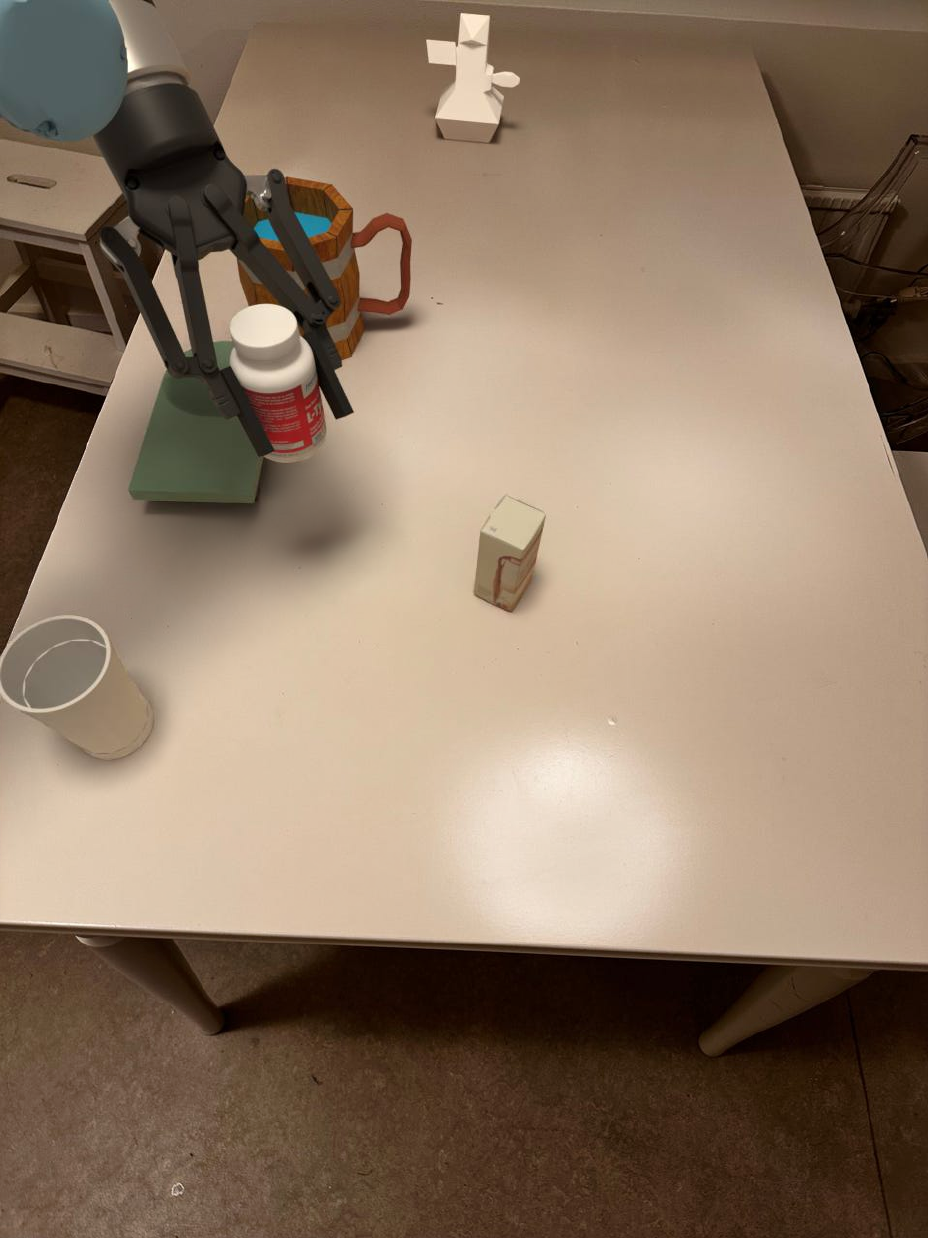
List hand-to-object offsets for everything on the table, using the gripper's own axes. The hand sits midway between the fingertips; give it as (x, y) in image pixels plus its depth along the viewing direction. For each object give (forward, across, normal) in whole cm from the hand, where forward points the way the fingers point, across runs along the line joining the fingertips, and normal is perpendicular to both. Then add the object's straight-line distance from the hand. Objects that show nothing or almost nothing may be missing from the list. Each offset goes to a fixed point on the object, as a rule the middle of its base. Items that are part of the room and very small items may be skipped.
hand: (306, 434), depth 57 cm
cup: (+15, +24, -11) cm, 31 cm away
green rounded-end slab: (-2, +1, -29) cm, 29 cm away
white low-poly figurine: (-28, -60, -55) cm, 86 cm away
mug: (-8, -18, -35) cm, 40 cm away
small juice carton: (+21, -12, -6) cm, 25 cm away
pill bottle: (0, 0, -5) cm, 5 cm away
